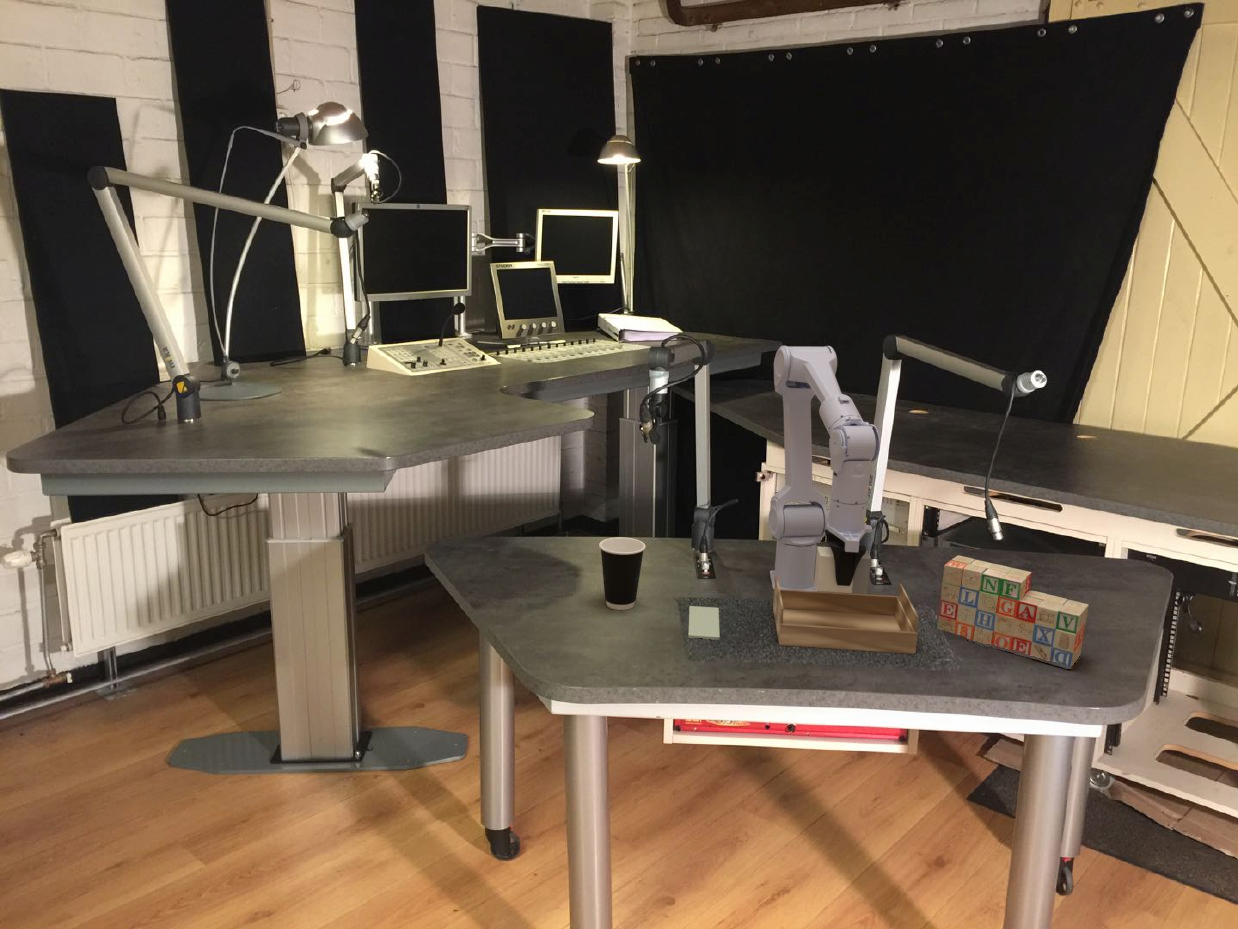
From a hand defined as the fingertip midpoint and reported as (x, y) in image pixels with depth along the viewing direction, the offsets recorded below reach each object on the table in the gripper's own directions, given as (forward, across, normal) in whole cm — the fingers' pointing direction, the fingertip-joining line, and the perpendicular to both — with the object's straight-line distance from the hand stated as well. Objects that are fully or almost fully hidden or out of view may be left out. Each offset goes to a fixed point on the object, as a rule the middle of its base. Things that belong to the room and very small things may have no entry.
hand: (841, 579), depth 162 cm
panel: (+9, 0, +18) cm, 21 cm away
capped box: (+1, 0, 0) cm, 1 cm away
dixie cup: (+10, +6, +36) cm, 38 cm away
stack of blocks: (+10, -1, -27) cm, 29 cm away
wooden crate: (+9, 0, -1) cm, 9 cm away
